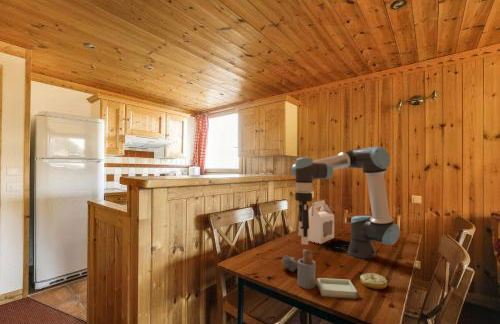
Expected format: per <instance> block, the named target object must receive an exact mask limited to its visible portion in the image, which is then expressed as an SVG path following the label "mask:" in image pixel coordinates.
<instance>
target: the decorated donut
mask: <svg viewBox="0 0 500 324" xmlns="http://www.w3.org/2000/svg"><path fill="white" fill-rule="evenodd" d="M359 277H360V278H359V279H360V283H361V284H362V285H363V286H365V287H367V288H369V289H370V288H371V289H374V290H375V289H376V290H382V289H385V288H387V286H388V280H387V279H386V277H384V276H383V275H381V274H378V273H371V272H370V273H369V272H368V273H364V274H361V275H360V276H359Z"/></svg>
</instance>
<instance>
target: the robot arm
mask: <svg viewBox="0 0 500 324" xmlns="http://www.w3.org/2000/svg"><path fill="white" fill-rule="evenodd" d="M390 163H391V156H390V154H389V152H388V150H387V149H385V148H384V147H382V146H371V147H370V146H369V147H359V148H353V149H350V150H345V151H343V152H339V153H338V154H337V155H333V156H329V157H324V158H319V159H316V160H313V158H312V157H298V158H296V159H295V163H294V164H293V165H292V166H291V168H290V169H291V170H290V173H291V175H292V176H293V177H294V178H295V184H294V185H293V187H295V193H294V199H295V202H298V203H299V204H298V217H297V218H298V236H300V237H301V245H309V241H308V228H309V215H308V210H309V209H310V208H309V204H308V202H312V201H313V193H312V192H313V185H314V184H313V180H327V179H331V177H332V176H333V174H334V170H339V169H342V170H344V169H362V173H363V175H366V182H367V189H368V196H369V202H370V209H371V215H355V216H352V217H351V221H350V243H349V246H348V248H347V253H348V255H350V256H353V257H355V258H359V259H368V260H369V259H373V258H376V251H375V246H374V244H373V242H377V243H380V244H383V245H389V246H391V245H392V246H393V245H394V244H396V243H397V241H398V240H399V237H400V235H401V234H400V233H401V230H400V226H399V225H398V224H396V223H395V222H394V218H393V217H392V216H390V210H389V202H388V193H387V188H386V181H385V179H386V178H385V173H387V169H388V168H389V167H390Z"/></svg>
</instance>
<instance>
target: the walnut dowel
mask: <svg viewBox="0 0 500 324" xmlns="http://www.w3.org/2000/svg"><path fill="white" fill-rule="evenodd" d="M302 259H303V264H312V260H313V250H312V249H308V248H304V249H302Z"/></svg>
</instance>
